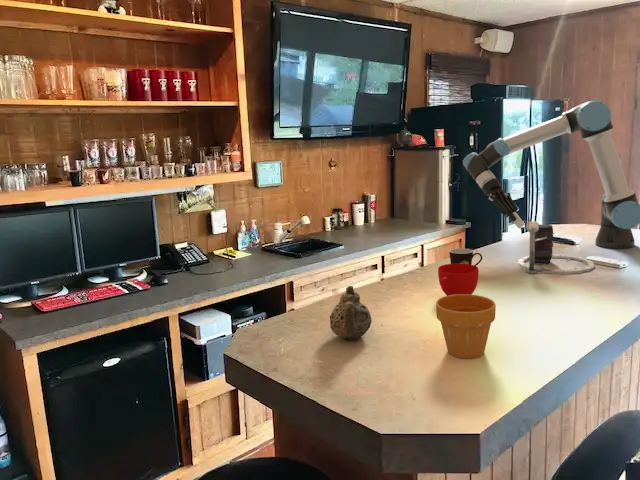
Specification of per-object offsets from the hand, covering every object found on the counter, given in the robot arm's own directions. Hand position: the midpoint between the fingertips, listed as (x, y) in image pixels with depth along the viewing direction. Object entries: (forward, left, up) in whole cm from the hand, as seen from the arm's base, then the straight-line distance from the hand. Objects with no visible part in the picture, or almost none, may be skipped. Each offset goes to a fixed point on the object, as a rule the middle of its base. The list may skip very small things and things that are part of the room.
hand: (521, 226), depth 216 cm
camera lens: (-6, +7, -14) cm, 17 cm away
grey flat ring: (-9, +12, -14) cm, 20 cm away
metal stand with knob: (+1, +19, -14) cm, 23 cm away
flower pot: (+47, +89, -14) cm, 101 cm away
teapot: (+75, +76, -14) cm, 108 cm away
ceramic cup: (+39, +47, -14) cm, 63 cm away
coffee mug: (+29, +22, -14) cm, 39 cm away
